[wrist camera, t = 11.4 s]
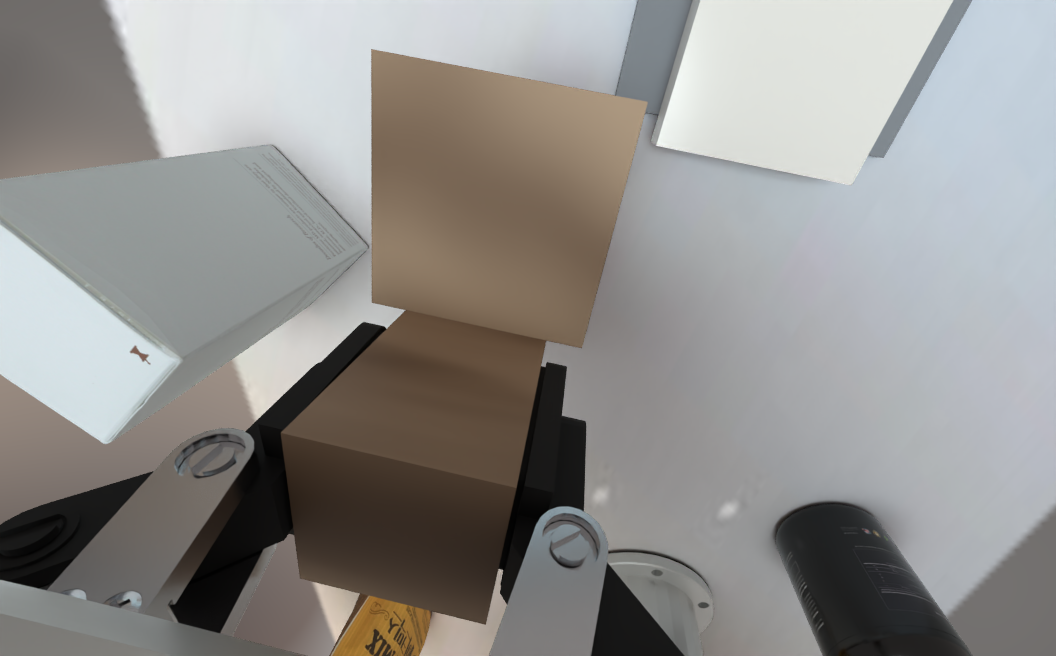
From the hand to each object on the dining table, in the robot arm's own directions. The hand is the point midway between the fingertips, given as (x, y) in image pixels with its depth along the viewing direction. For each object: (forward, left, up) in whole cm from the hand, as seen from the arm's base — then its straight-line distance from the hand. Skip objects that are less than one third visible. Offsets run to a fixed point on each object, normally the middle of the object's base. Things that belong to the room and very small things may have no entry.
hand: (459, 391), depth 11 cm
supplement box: (-2, +14, -13) cm, 20 cm away
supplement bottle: (-16, -25, -13) cm, 33 cm away
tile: (+6, -9, -11) cm, 16 cm away
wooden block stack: (+2, 0, -2) cm, 3 cm away
